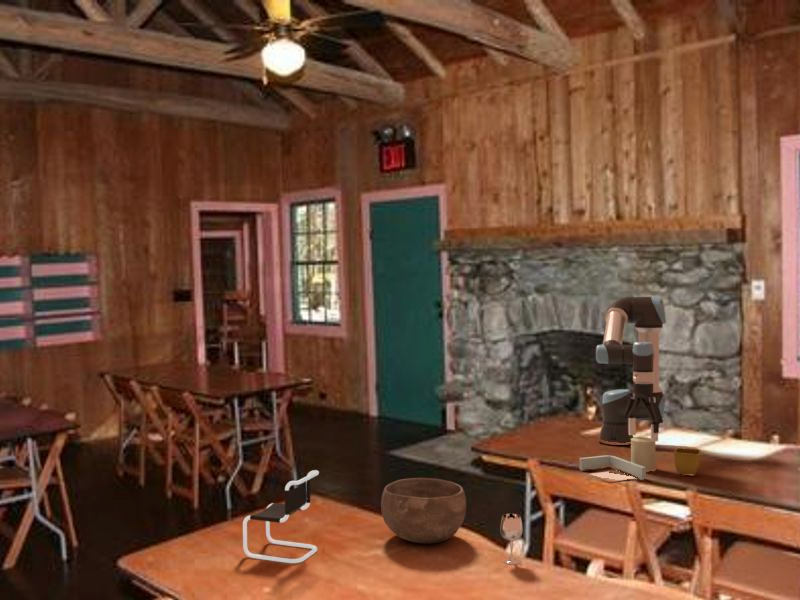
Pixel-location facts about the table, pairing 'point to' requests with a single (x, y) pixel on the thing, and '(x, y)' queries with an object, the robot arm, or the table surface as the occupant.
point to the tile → (612, 476)
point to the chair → (284, 517)
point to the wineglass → (511, 533)
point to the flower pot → (687, 460)
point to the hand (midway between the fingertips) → (643, 438)
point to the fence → (613, 464)
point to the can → (643, 452)
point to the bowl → (423, 509)
